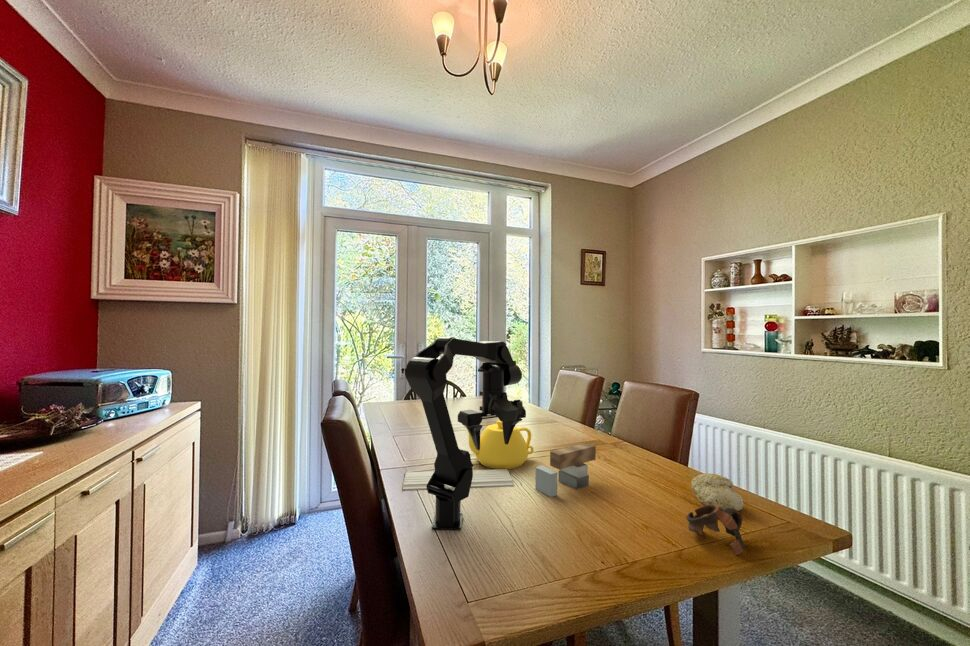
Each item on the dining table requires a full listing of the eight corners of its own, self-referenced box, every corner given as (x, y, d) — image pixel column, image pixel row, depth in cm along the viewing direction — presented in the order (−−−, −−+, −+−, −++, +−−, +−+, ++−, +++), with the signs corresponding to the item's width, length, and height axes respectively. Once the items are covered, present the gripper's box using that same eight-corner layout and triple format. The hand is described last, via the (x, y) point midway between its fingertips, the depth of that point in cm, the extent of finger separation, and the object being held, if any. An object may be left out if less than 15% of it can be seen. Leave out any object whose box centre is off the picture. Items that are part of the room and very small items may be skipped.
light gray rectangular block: (550, 497, 97) (550, 474, 98) (535, 488, 102) (535, 467, 102) (557, 494, 99) (557, 472, 99) (541, 487, 104) (542, 465, 104)
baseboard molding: (514, 490, 103) (507, 474, 115) (514, 479, 103) (507, 464, 115) (401, 494, 99) (405, 477, 111) (401, 483, 99) (406, 467, 111)
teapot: (467, 474, 112) (467, 429, 113) (457, 455, 130) (457, 416, 130) (543, 468, 118) (543, 425, 119) (524, 450, 136) (524, 413, 136)
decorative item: (676, 483, 97) (695, 462, 102) (688, 512, 98) (706, 489, 103) (724, 496, 87) (742, 471, 92) (737, 528, 87) (754, 501, 92)
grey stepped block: (576, 489, 102) (576, 467, 102) (558, 481, 108) (558, 460, 108) (588, 485, 105) (588, 464, 105) (570, 477, 111) (570, 457, 111)
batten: (559, 469, 101) (559, 454, 101) (550, 465, 104) (550, 451, 104) (595, 459, 109) (595, 446, 109) (586, 456, 112) (586, 442, 112)
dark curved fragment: (733, 565, 70) (707, 520, 73) (694, 561, 78) (672, 521, 81) (766, 534, 76) (741, 494, 78) (727, 533, 83) (705, 497, 86)
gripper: (480, 395, 86) (479, 462, 86) (539, 389, 97) (539, 449, 96) (456, 389, 96) (456, 449, 95) (513, 384, 106) (513, 438, 106)
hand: (492, 446), depth 98 cm, fingers open, 9 cm apart
